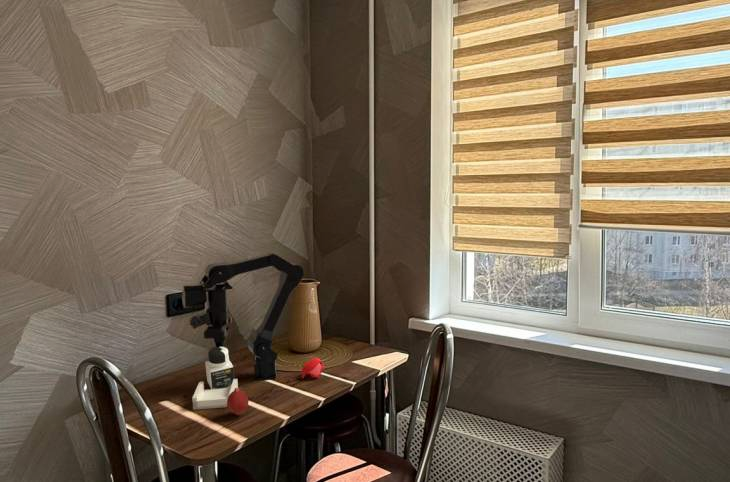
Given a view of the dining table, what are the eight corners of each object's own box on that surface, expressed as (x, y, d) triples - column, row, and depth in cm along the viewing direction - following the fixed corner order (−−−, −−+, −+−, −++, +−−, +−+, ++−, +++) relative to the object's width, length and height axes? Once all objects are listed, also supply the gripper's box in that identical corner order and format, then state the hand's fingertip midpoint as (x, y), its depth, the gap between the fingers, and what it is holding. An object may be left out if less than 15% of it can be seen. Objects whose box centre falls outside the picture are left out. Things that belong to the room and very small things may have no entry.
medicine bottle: (212, 392, 177) (209, 357, 174) (206, 380, 183) (203, 347, 180) (235, 386, 180) (232, 352, 177) (229, 375, 186) (226, 342, 183)
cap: (322, 362, 192) (306, 354, 191) (327, 361, 187) (311, 353, 185) (312, 384, 189) (296, 377, 188) (317, 384, 184) (301, 376, 182)
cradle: (238, 389, 178) (237, 378, 178) (233, 406, 165) (233, 394, 165) (200, 392, 177) (199, 381, 176) (193, 409, 164) (192, 398, 163)
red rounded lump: (229, 411, 162) (227, 384, 161) (250, 410, 162) (248, 382, 161) (226, 420, 156) (224, 391, 155) (247, 418, 157) (246, 390, 156)
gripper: (196, 297, 188) (198, 343, 191) (185, 312, 170) (187, 363, 172) (231, 296, 190) (232, 342, 192) (223, 311, 171) (225, 361, 173)
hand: (219, 351), depth 182 cm, fingers closed
